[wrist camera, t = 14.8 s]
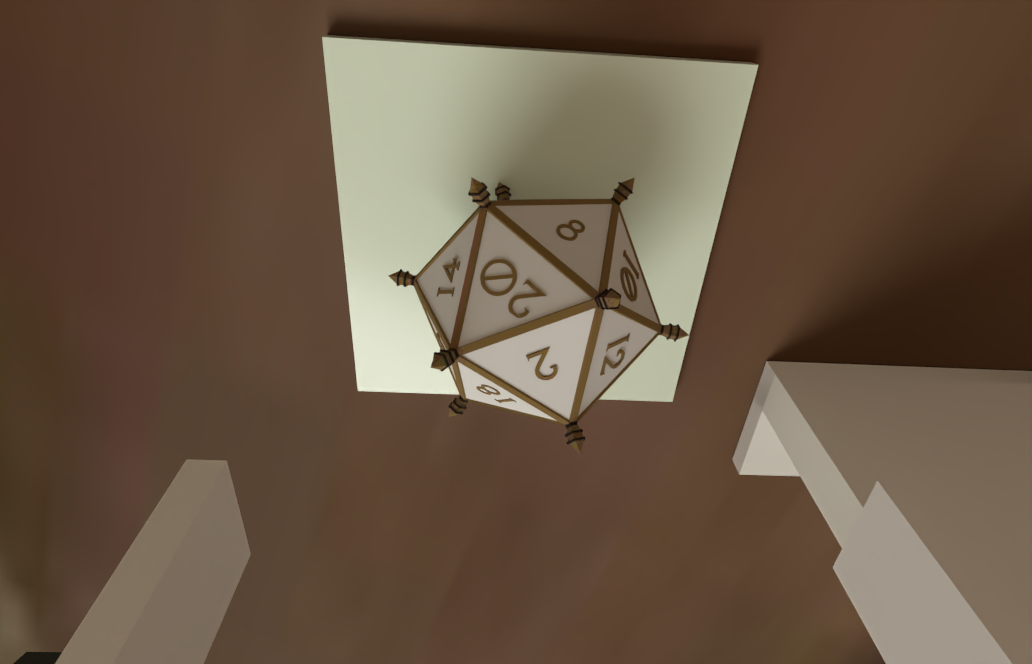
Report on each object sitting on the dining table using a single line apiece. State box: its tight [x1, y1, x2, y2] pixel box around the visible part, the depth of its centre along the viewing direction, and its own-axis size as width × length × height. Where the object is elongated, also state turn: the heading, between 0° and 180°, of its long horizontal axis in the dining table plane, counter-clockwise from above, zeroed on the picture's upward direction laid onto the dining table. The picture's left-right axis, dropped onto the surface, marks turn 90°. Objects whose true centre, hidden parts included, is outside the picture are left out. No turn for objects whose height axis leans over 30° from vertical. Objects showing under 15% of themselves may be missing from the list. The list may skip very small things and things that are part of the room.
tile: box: [322, 35, 758, 402], centre depth 23 cm, size 14×14×1 cm
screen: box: [732, 361, 1032, 628], centre depth 23 cm, size 6×16×13 cm, turn 86°
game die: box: [389, 177, 689, 454], centre depth 19 cm, size 9×8×10 cm
